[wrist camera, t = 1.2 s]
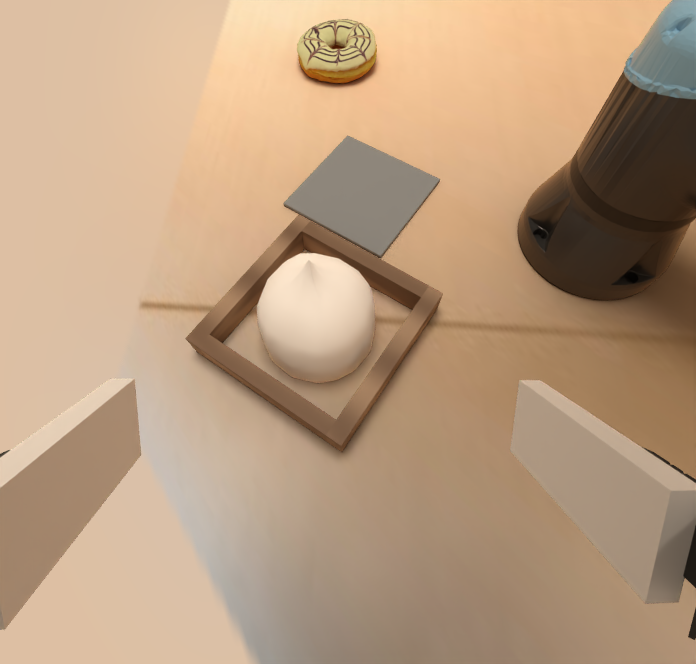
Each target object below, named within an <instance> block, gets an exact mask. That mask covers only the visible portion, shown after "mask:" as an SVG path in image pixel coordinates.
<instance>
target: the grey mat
mask: <svg viewBox="0 0 696 664" xmlns="http://www.w3.org/2000/svg"><path fill="white" fill-rule="evenodd" d="M439 181H440V179H439V178H437V177H434V176H432V175H430V174H428V173H426V172H424V171H422V170H420V169H417V168H415V167H413V166H411V165H409V164H407V163H405V162H403V161H401V160H398V159H396V158H394V157H392V156H390V155H388V154H386V153H384V152H381V151H379V150H377V149H375V148H373V147H371V146H369V145H367V144H365V143H362V142H360V141H358V140H356V139H354V138H352V137H350V136H347V137H346V138H345V139H344V140H343V141H342V142H341V143H340V144H339V145H338V146H337V147H336V148H335V149H334V151H333V152H332V153H331V154H330V155H329V156H328V157H327V158H326V159H325V160H324V161H323V162H322V163H321V164H320V165H319V166H318V167H317V168H316V170H315V171H314V172H313V173H312V174H311V175H310V176H309V177H308V178H307V179H306V180H305V181H304V182H303V183H302V184H301V185H300V186H299V187H298V189H297V190H296V191H295V192H294V193H293V194H292V195H291V196H290V197H289V198H288V199H287V200H286V201H285V202H284V206H286V207H287V208H289V209H291V210H293V211H295V212H297V213H298V214H300V215H302V216H304V217H306V218H308V219H309V220H311V221H313V222H315V223H317V224H319V225H320V226H322V227H324V228H326V229H328V230H330V231H331V232H333V233H335V234H337V235H339V236H341V237H342V238H344V239H346V240H348V241H350V242H352V243H353V244H355V245H357V246H359V247H361V248H363V249H364V250H366V251H368V252H370V253H372V254H374V255H376V256H377V257H379V258H381V257H382V256H383V254H384V253H385V252H386V250H387V249H388V248H389V246H390V245H391V244H392V243H393V241H394V240H395V239H396V237H397V236H398V235H399V233H400V232H401V231H402V230H403V228H404V227H405V226H406V224H407V223H408V222H409V220H410V219H411V218H412V217H413V215H414V214H415V213H416V211H417V210H418V209H419V208H420V206H421V205H422V204H423V202H424V201H425V200H426V198H427V197H428V196H429V195H430V193H431V192H432V191H433V189H434V188H435V187H436V185H437V184H438V183H439Z"/></svg>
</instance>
